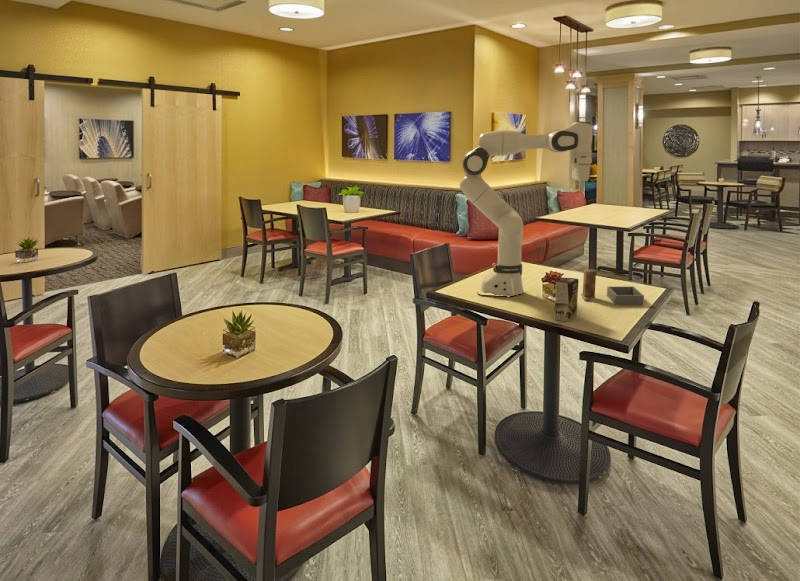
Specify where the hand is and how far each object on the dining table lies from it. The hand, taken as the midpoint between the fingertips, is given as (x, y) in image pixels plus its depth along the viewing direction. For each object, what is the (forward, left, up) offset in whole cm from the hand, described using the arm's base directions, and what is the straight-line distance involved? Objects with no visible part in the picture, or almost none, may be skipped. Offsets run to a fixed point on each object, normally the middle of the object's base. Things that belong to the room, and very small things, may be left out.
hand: (579, 190), depth 255 cm
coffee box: (-11, -40, -48) cm, 64 cm away
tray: (+19, -14, -48) cm, 54 cm away
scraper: (+4, -11, -48) cm, 49 cm away
